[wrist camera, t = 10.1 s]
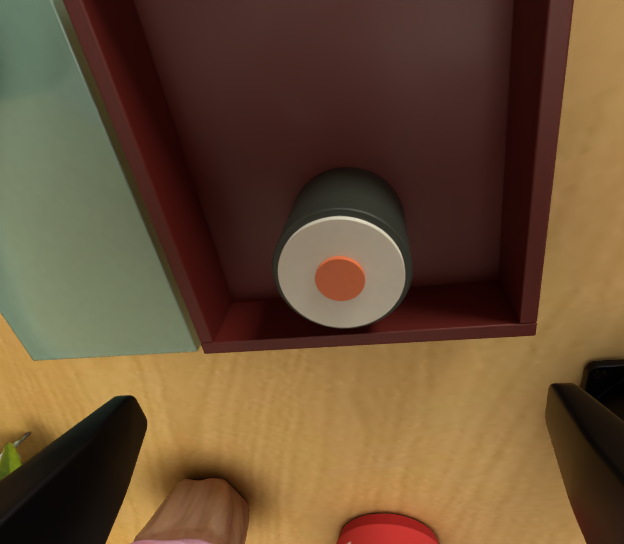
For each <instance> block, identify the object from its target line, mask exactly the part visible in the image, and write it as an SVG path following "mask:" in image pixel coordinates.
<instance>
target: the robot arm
mask: <svg viewBox="0 0 624 544" xmlns="http://www.w3.org/2000/svg"><path fill="white" fill-rule="evenodd" d="M597 371H599V372H597ZM545 418H546V424H547V428H548V431H549V434H550V438H551V441H552V444H553V448H554V451H555V455H556V458H557V461H558V465H559V468H560V471H561V475H562V478H563V481H564V485H565V488H566V491H567V495H568V498H569V501H570V504H571V507H572V509H573V512H574V514H575V517H576V519H577V522H578V524H579V527H580V529H581V531H582V534H583V536H584V538H585V541H586V543H587V544H624V360H602V361H593V362H591V363H589V364H587V365H586V366H585V369H584V373H583V378H582V383H581V388H580V387H579V386H578V385H576V384H573V383H554V384H551V385H550V387H549V390H548V397H547V404H546V411H545ZM146 430H147V419H146V416H145V414H144V413H143V411H142V409H141V407H140V405H139V403H138V402H137V400H136V398H135V397H133V396H131V395H127V396H116V397H114V398H112V399H111V400H109V401H108V402H107V403H105V404H104V405H103V406H101V407H100V408H98V409H97V410H96V411H94V412H93V413H92V414H90V415H89V416H88V417H86V418H85V419H83V420H82V421H81V422H79V423H78V424H77V425H75V426H74V427H73V428H71V429H70V430H68V431H67V432H66V433H64V434H63V435H62V436H60V437H59V438H58V439H56V440H55V441H53V442H52V443H51V444H49V445H48V446H47V447H45V448H44V449H43V450H41V451H40V452H38V453H37V454H36V455H34V456H33V457H32V458H30V459H29V460H27V461H26V462H25V463H23V464H22V465H21V466H19V467H18V468H17V469H15V470H14V471H12V472H11V473H10V474H8V475H7V476H6V477H4V478H3V479H2V480H0V544H105V543H106V541H107V539H108V536H109V534H110V531H111V529H112V527H113V524H114V522H115V520H116V517H117V515H118V512H119V510H120V508H121V505H122V503H123V500H124V498H125V495H126V492H127V489H128V487H129V484H130V481H131V477H132V474H133V471H134V468H135V465H136V462H137V458H138V455H139V452H140V449H141V446H142V443H143V439H144V436H145V433H146Z"/></svg>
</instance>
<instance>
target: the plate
mask: <svg viewBox="0 0 624 544" xmlns="http://www.w3.org/2000/svg"><path fill="white" fill-rule="evenodd" d="M0 313H1V314H2V316H3V317H4V318H5V320H6V321H7V323H8V324H9V326H10V327H11V329H12V330H13V332H14V333H15V335H16V336H17V338H18V339H19V340H20V342H21V343H22V345H23V346H24V348H25V349H26V351H27V352H28V354H29V355H30V357H31V358H32V360H34V361H38V360H55V359H73V358H91V357H109V356H126V355H144V354H162V353H180V352H196V351H198V349H199V347H200V345H201V342H200V340H199V338H198V335H197V333H196V330H195V328H194V325H193V323H192V320H191V318H190V315H189V313H188V310H187V308H186V305H185V303H184V300H183V298H182V295H181V293H180V290H179V288H178V285H177V283H176V280H175V278H174V275H173V273H172V271H171V268H170V266H169V263H168V261H167V258H166V256H165V253H164V251H163V248H162V246H161V243H160V241H159V238H158V236H157V233H156V231H155V228H154V226H153V223H152V221H151V218H150V216H149V213H148V211H147V208H146V206H145V203H144V201H143V199H142V196H141V194H140V191H139V189H138V186H137V184H136V181H135V179H134V176H133V174H132V171H131V169H130V166H129V164H128V161H127V159H126V156H125V154H124V151H123V149H122V146H121V144H120V141H119V139H118V136H117V134H116V132H115V129H114V127H113V124H112V122H111V119H110V117H109V114H108V112H107V109H106V107H105V104H104V102H103V99H102V97H101V94H100V92H99V89H98V87H97V84H96V82H95V79H94V77H93V74H92V72H91V69H90V67H89V65H88V62H87V60H86V57H85V55H84V52H83V50H82V47H81V45H80V42H79V40H78V37H77V35H76V32H75V30H74V27H73V25H72V22H71V20H70V17H69V15H68V12H67V10H66V7H65V5H64V2H63V0H0Z"/></svg>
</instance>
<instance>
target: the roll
mask: <svg viewBox="0 0 624 544" xmlns="http://www.w3.org/2000/svg"><path fill="white" fill-rule="evenodd" d="M272 273H273V278H274V281H275V284H276V287H277V289H278V291H279V293H280V295H281V296H282V298H283V299H284V301H285V302H286V303H287V304H288V305H289V306H290V307H291V308H292V309H293V310H294V311H295V312H296V313H298V314H299V315H301V316H302V317H304V318H306V319H307V320H309V321H312V322H314V323H316V324H319V325H323V326H326V327H331V328H340V329H350V328H358V327H363V326H367V325H370V324H373V323H375V322H377V321H379V320H381V319H383V318H385V317H386V316H388V315H389V314H390V313H392V312H393V311H394V310H395V309H396V308H397V307H398V306H399V305H400V304H401V302H402V301H403V299H404V298H405V296H406V294H407V292H408V290H409V288H410V285H411V281H412V275H413V265H412V258H411V252H410V246H409V240H408V235H407V229H406V223H405V217H404V211H403V207H402V203H401V201H400V199H399V197H398V195H397V193H396V192H395V190H394V189H393V188H392V187H391V185H390V184H389V183H388V182H386V181H385V180H384V179H383V178H381V177H380V176H378V175H376V174H374V173H372V172H370V171H367V170H364V169H360V168H354V167H341V168H335V169H331V170H328V171H325V172H323V173H321V174H319V175H317V176H315V177H314V178H312V179H311V180H310V181H309V182H308V183H307V184H306V185H305V186H304V187H303V188H302V189H301V191H300V192H299V194H298V196H297V198H296V200H295V202H294V205H293V207H292V209H291V212H290V214H289V216H288V219H287V221H286V223H285V226H284V228H283V230H282V233H281V235H280V237H279V240H278V242H277V244H276V247H275V249H274V253H273V259H272Z"/></svg>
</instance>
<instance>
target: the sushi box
mask: <svg viewBox="0 0 624 544" xmlns="http://www.w3.org/2000/svg"><path fill="white" fill-rule="evenodd" d="M63 2H64V5H65V7H66V10H67V12H68V15H69V17H70V20H71V22H72V25H73V27H74V30H75V32H76V35H77V37H78V40H79V42H80V45H81V47H82V50H83V52H84V55H85V57H86V60H87V62H88V65H89V67H90V69H91V72H92V74H93V77H94V79H95V82H96V84H97V87H98V89H99V92H100V94H101V97H102V99H103V102H104V104H105V107H106V109H107V112H108V114H109V117H110V119H111V122H112V124H113V127H114V129H115V132H116V134H117V136H118V139H119V141H120V144H121V146H122V149H123V151H124V154H125V156H126V159H127V161H128V164H129V166H130V169H131V171H132V174H133V176H134V179H135V181H136V184H137V186H138V189H139V191H140V194H141V196H142V199H143V201H144V203H145V206H146V208H147V211H148V213H149V216H150V218H151V221H152V223H153V226H154V228H155V231H156V233H157V236H158V238H159V241H160V243H161V246H162V248H163V251H164V253H165V256H166V258H167V261H168V263H169V266H170V268H171V271H172V273H173V275H174V278H175V280H176V283H177V285H178V288H179V290H180V293H181V295H182V298H183V300H184V303H185V305H186V308H187V310H188V313H189V315H190V318H191V320H192V323H193V325H194V328H195V330H196V333H197V335H198V338H199V340H200V342H201V345H202V348H203V350H204V353H205V354H208V353H226V352H245V351H263V350H281V349H299V348H317V347H335V346H354V345H372V344H390V343H408V342H426V341H444V340H462V339H481V338H499V337H517V336H534V335H536V326H537V323H536V322H537V316H538V307H539V298H540V290H541V281H542V272H543V264H544V255H545V246H546V238H547V229H548V220H549V212H550V203H551V194H552V186H553V177H554V168H555V160H556V151H557V142H558V134H559V125H560V116H561V108H562V99H563V90H564V82H565V73H566V64H567V56H568V47H569V38H570V30H571V21H572V12H573V4H574V0H63ZM341 167H354V168H360V169H364V170H367V171H370V172H372V173H374V174H376V175H378V176H380V177H381V178H383V179H384V180H385V181H386V182H388V183H389V184H390V185H391V187H392V188H393V189H394V190H395V192H396V193H397V195H398V197H399V199H400V201H401V203H402V207H403V211H404V217H405V223H406V229H407V235H408V240H409V246H410V252H411V258H412V265H413V275H412V281H411V285H410V288H409V290H408V292H407V294H406V296H405V298H404V299H403V301H402V302H401V304H400V305H399V306H398V307H397V308H396V309H395V310H394V311H393V312H392V313H390V314H389V315H388V316H386V317H385V318H383V319H381V320H379V321H377V322H375V323H373V324H370V325H367V326H363V327H358V328H350V329H340V328H331V327H326V326H323V325H319V324H316V323H314V322H312V321H309V320H307V319H306V318H304V317H302V316H301V315H299V314H298V313H296V312H295V311H294V310H293V309H292V308H291V307H290V306H289V305H288V304H287V303H286V302H285V301H284V299H283V298H282V296H281V295H280V293H279V291H278V289H277V287H276V284H275V281H274V278H273V273H272V259H273V253H274V249H275V247H276V244H277V242H278V240H279V237H280V235H281V233H282V230H283V228H284V226H285V223H286V221H287V219H288V216H289V214H290V212H291V209H292V207H293V205H294V202H295V200H296V198H297V196H298V194H299V192H300V191H301V189H302V188H303V187H304V186H305V185H306V184H307V183H308V182H309V181H310V180H311V179H312V178H314V177H315V176H317V175H319V174H321V173H323V172H325V171H328V170H331V169H335V168H341Z"/></svg>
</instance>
